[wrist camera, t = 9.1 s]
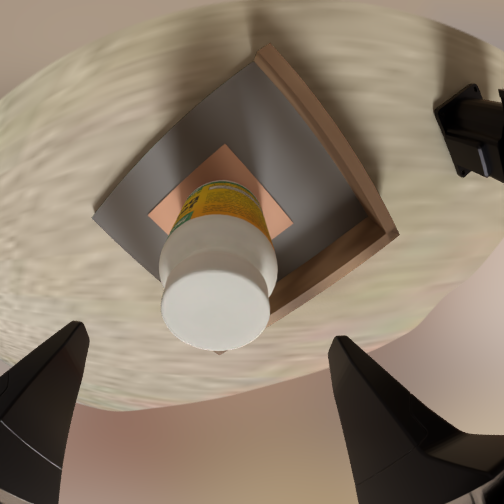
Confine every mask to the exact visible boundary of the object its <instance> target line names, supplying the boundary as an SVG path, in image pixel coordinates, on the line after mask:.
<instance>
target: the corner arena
mask: <svg viewBox="0 0 504 504" xmlns="http://www.w3.org/2000/svg"><path fill="white" fill-rule="evenodd" d="M217 180H229V181H233V182H236V183H239V184H241V185H243V186H245V187H246V188H247V189H249V190H250V191H251V192H252V193H253V194H254V195H255V197H256V198H257V200H258V201H259V203H260V206H261V208H262V211H263V215H264V218H265V221H266V225H267V228H268V231H269V235H270V237H271V241H272V244H273V247H274V250H275V254H276V259H277V266H278V272H277V280H276V284H275V287H274V289H273V291H272V293H271V295H270V297H269V303H270V317H269V321H268V323H267V325H266V327H268V326H270V325H271V324H273V323H275V322H276V321H278V320H279V319H281V318H283V317H284V316H286V315H287V314H289V313H290V312H292V311H294V310H295V309H297V308H298V307H300V306H301V305H303V304H304V303H306V302H307V301H309V300H310V299H312V298H313V297H315V296H316V295H318V294H319V293H321V292H322V291H324V290H325V289H327V288H328V287H330V286H331V285H332V284H334V283H335V282H337V281H338V280H340V279H341V278H342V277H344V276H345V275H347V274H348V273H350V272H351V271H352V270H354V269H355V268H356V267H358V266H359V265H361V264H362V263H363V262H365V261H366V260H367V259H369V258H370V257H371V256H373V255H374V254H375V253H377V252H378V251H379V250H381V249H382V248H383V247H385V246H386V245H387V244H389V243H390V242H391V241H393V240H394V239H395V238H396V237H398V236H399V235H400V234H399V232H398V230H397V228H396V226H395V224H394V222H393V220H392V218H391V216H390V214H389V212H388V210H387V208H386V206H385V204H384V202H383V201H382V199H381V197H380V195H379V193H378V191H377V190H376V188H375V186H374V184H373V182H372V181H371V179H370V177H369V175H368V174H367V172H366V170H365V169H364V167H363V165H362V164H361V162H360V160H359V159H358V157H357V156H356V154H355V152H354V151H353V149H352V148H351V146H350V145H349V143H348V141H347V140H346V138H345V137H344V135H343V134H342V132H341V131H340V130H339V128H338V127H337V125H336V124H335V122H334V121H333V119H332V118H331V117H330V115H329V114H328V112H327V111H326V110H325V108H324V107H323V106H322V104H321V103H320V102H319V100H318V99H317V98H316V96H315V95H314V94H313V92H312V91H311V90H310V89H309V87H308V86H307V85H306V84H305V82H304V81H303V80H302V79H301V77H300V76H299V75H298V74H297V73H296V71H295V70H294V69H293V68H292V67H291V66H290V64H289V63H288V62H287V61H286V60H285V59H284V58H283V56H282V55H281V54H280V53H279V52H278V51H277V50H276V49H275V48H274V47H273V46H272V44H271V43H269V44H268V45H266V46H265V47H263V48H262V49H260V50H259V51H257V54H256V56H255V59H254V61H253V62H252V63H250V64H249V65H247V66H246V67H245V68H243V69H242V70H241V71H239V72H238V73H236V74H235V75H234V76H232V77H231V78H230V79H229V80H227V81H226V82H225V83H223V84H222V85H221V86H220V87H218V88H217V89H216V90H215V91H213V92H212V93H211V94H210V95H209V96H207V97H206V98H205V99H204V100H203V101H201V102H200V103H199V104H198V105H197V106H196V107H194V108H193V109H192V110H191V111H190V112H189V113H188V114H187V115H185V116H184V117H183V118H182V119H181V120H180V121H179V122H178V123H177V124H176V125H175V126H173V127H172V128H171V129H170V130H169V131H168V132H167V133H166V134H165V135H164V136H163V137H162V138H161V139H160V140H159V141H158V142H157V143H156V144H155V145H154V146H153V147H152V148H151V149H150V150H149V151H148V152H147V153H146V154H145V155H144V156H143V158H142V159H141V160H140V161H139V162H138V163H137V164H136V165H135V166H134V167H133V168H132V169H131V171H130V172H129V173H128V174H127V175H126V176H125V177H124V179H123V180H122V181H121V182H120V183H119V184H118V186H117V187H116V188H115V189H114V190H113V191H112V193H111V194H110V195H109V196H108V198H107V199H106V200H105V201H104V203H103V204H102V205H101V206H100V208H99V209H98V210H97V211H96V213H95V214H94V215H93V217H92V219H93V220H94V221H95V222H96V223H97V224H98V225H99V226H100V227H101V228H102V229H103V230H104V231H105V232H106V233H107V234H108V235H109V236H110V237H111V238H112V239H114V240H115V241H116V242H117V243H118V244H119V245H120V246H121V247H122V248H123V249H124V250H125V251H126V252H127V253H129V254H130V255H131V256H132V257H133V258H134V259H135V260H136V261H137V262H138V263H140V264H141V265H142V266H143V267H144V268H145V269H146V270H147V271H149V272H150V273H151V274H152V275H153V276H154V277H155V278H157V279H158V280H159V281H160V282H161V279H160V274H159V261H160V255H161V252H162V248H163V246H164V244H165V242H166V240H167V238H168V235H169V233H170V231H171V229H172V227H173V225H174V223H175V221H176V219H177V217H178V215H179V213H180V211H181V209H182V207H183V205H184V203H185V202H186V200H187V198H188V197H189V195H190V194H191V193H192V192H193V191H194V190H196V189H197V188H198V187H200V186H202V185H204V184H206V183H209V182H212V181H217ZM266 327H265V328H266ZM226 351H228V350H225V351H214V352H215V353H217V354H218V355H221V354H222V353H224V352H226Z"/></svg>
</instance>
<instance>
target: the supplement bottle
mask: <svg viewBox="0 0 504 504" xmlns="http://www.w3.org/2000/svg"><path fill="white" fill-rule="evenodd" d="M277 272H278V266H277V259H276V254H275V250H274V247H273V244H272V241H271V237H270V235H269V231H268V228H267V225H266V221H265V218H264V215H263V211H262V208H261V206H260V203H259V201H258V200H257V198H256V197H255V195H254V194H253V193H252V192H251V191H250V190H249V189H247V188H246V187H245V186H243V185H241V184H239V183H236V182H233V181H229V180H217V181H212V182H209V183H206V184H204V185H202V186H200V187H198V188H197V189H196V190H194V191H193V192H192V193H191V194H190V195H189V197H188V198H187V200H186V202H185V203H184V205H183V207H182V209H181V211H180V213H179V215H178V217H177V219H176V221H175V223H174V225H173V227H172V229H171V231H170V233H169V235H168V238H167V240H166V242H165V244H164V246H163V248H162V252H161V255H160V261H159V274H160V279H161V283H162V286H163V288H164V292H163V296H162V301H161V313H162V317H163V320H164V322H165V324H166V325H167V327H168V329H169V330H170V331H171V332H172V333H173V334H174V335H175V336H176V337H177V338H179V339H180V340H181V341H183V342H185V343H187V344H189V345H191V346H194V347H196V348H200V349H204V350H210V351H225V350H232V349H236V348H239V347H242V346H244V345H247V344H249V343H250V342H252V341H253V340H255V339H256V338H257V337H258V336H259V335H260V334H261V333H262V332H263V330H264V329H265V327H266V325H267V323H268V321H269V317H270V303H269V297H270V295H271V293H272V291H273V289H274V287H275V284H276V280H277Z"/></svg>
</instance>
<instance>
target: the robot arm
mask: <svg viewBox="0 0 504 504" xmlns="http://www.w3.org/2000/svg"><path fill="white" fill-rule="evenodd" d="M498 91H499V96H500V97H501V101H502V103H501V102H495V101H489V100H483V99H482V96H481V93H480V91H479V88H478V86H477V85H476V84H472V83H471V84H469V85H468V86H467V87H465V88H464V89H463V90H461V91H460V92H458V93H457V94H456V95H454V96H453V97H452V98H450V99H449V100H448V101H446V102H445V103H444V104H442V105H441V106H440V107H438V108H437V109H436V110H435V117H436V119H437V122H438V124H439V126H440V129H441V131H442V133H443V136H444V139H445V142H446V144H447V147H448V149H449V152H450V155H451V157H452V160H453V163H454V165H455V168H456V171H457V174H458V175H459V176H460V177H463V178H464V177H465V176H466V175H467V174H468V173H470V172H471V171H473V172H475V173H478V174H480V175H482V176H484V177H486V178H488V177H489V176H490V177H492V178H494V179H496V180H498V181H501V182H502V183H504V89H498ZM440 112H441V117H440ZM89 342H90V341H89V336H88V334H87V331H86V328H85V326H84V324H83V323H82V322H79V321H72V322H70V323H69V324H67V325H66V326H65V327H63V328H62V329H61V330H59V331H58V332H57V333H55V334H54V335H53V336H51V337H50V338H49V339H47V340H46V341H45V342H43V343H42V344H41V345H39V346H38V347H37V348H36V349H34V350H33V351H32V352H30V353H29V354H28V355H27V356H25V357H24V358H23V359H22V360H20V361H19V362H18V363H17V364H15V365H14V366H13V367H12V368H11V369H9V370H8V371H7V372H5V373H4V374H3V375H2V376H0V504H58V501H59V490H60V482H61V474H62V466H63V459H64V454H65V448H66V442H67V438H68V433H69V428H70V424H71V419H72V415H73V411H74V407H75V403H76V399H77V396H78V392H79V388H80V385H81V381H82V377H83V373H84V367H85V362H86V357H87V352H88V348H89ZM328 359H329V366H330V373H331V380H332V387H333V393H334V397H335V401H336V405H337V409H338V413H339V417H340V421H341V425H342V429H343V433H344V437H345V441H346V446H347V450H348V455H349V459H350V464H351V468H352V473H353V477H354V482H355V487H356V492H357V497H358V502H359V504H504V435H479V434H478V435H477V434H468V433H465V432H462V431H460V430H459V429H457V428H455V427H454V426H453V425H451V424H450V423H448V422H447V421H446V420H444V419H443V418H441V417H440V416H438V415H437V414H436V413H435V412H433V411H432V410H431V409H429V408H428V407H427V406H425V405H424V404H423V403H422V402H421V401H420V400H418V399H417V398H416V397H415V396H414V395H413V394H410V392H409V391H408V390H407V389H406V388H405V387H404V386H403V385H401V384H400V383H399V382H398V381H397V380H396V379H394V378H393V377H392V376H391V375H390V374H389V373H388V372H387V371H385V369H383V368H382V367H381V366H380V365H379V364H378V363H377V362H375V361H374V360H373V359H372V358H371V357H370V356H369V355H368V354H367V353H365V352H364V351H363V350H362V349H361V348H360V347H359V346H358V345H356V344H355V343H354V342H353V341H352V340H351V339H350V338H349V337H347V336H345V335H344V336H336V337H335V338H334V339H333V342H332V344H331V347H330V349H329V352H328Z"/></svg>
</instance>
